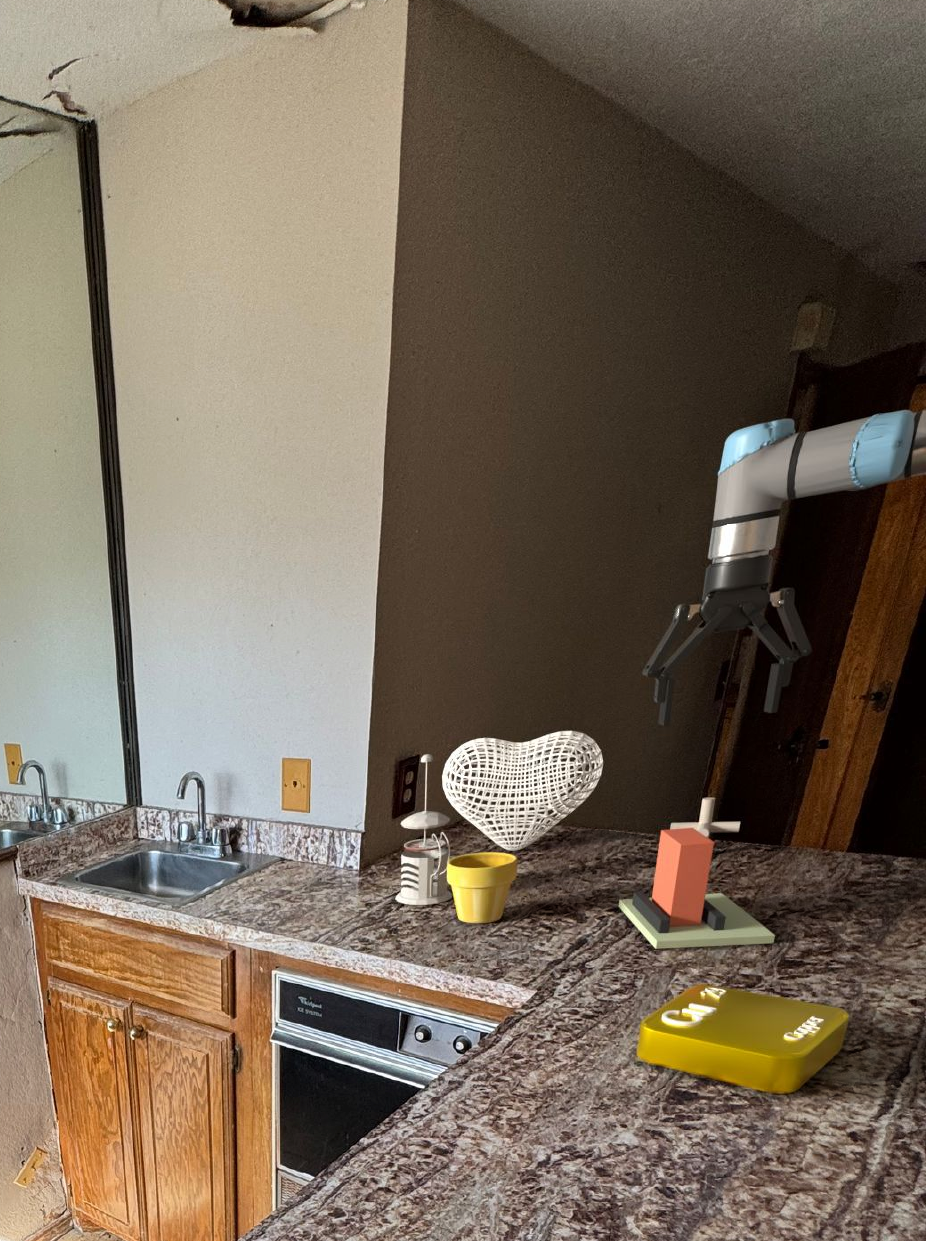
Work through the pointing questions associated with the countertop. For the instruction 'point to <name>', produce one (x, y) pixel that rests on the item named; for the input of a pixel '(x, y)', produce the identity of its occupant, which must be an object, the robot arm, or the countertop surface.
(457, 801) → the heart
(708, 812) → the pipe connector
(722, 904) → the base pad
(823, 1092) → the countertop surface
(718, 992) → the element tile
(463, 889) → the flower pot
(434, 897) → the french press
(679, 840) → the salmon orange rectangular block
